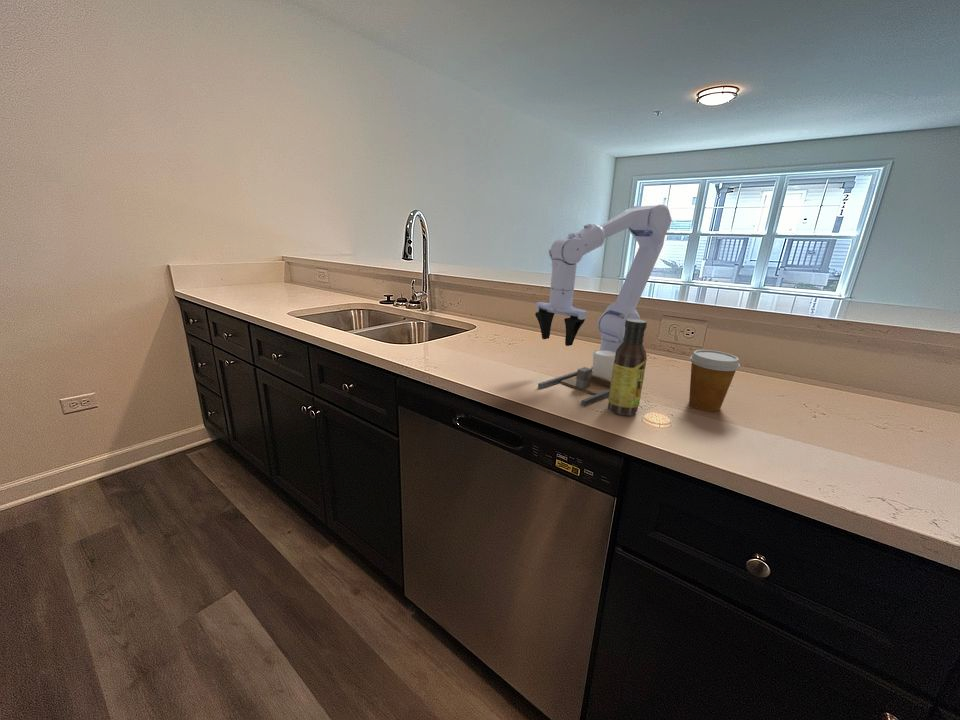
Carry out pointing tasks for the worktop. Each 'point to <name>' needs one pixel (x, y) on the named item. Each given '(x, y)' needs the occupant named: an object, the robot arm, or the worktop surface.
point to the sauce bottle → (628, 370)
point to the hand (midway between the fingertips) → (556, 341)
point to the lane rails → (559, 379)
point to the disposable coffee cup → (711, 378)
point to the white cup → (603, 363)
